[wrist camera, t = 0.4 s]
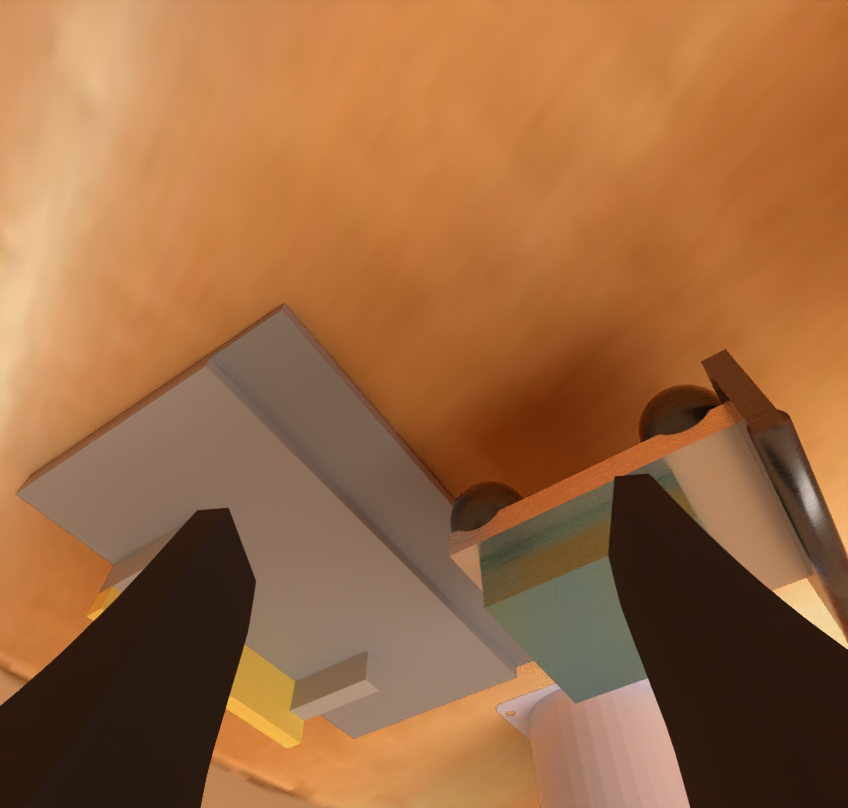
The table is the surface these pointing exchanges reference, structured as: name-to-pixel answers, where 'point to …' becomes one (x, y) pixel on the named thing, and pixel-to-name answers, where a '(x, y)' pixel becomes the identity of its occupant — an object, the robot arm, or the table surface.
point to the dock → (292, 533)
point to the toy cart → (690, 487)
